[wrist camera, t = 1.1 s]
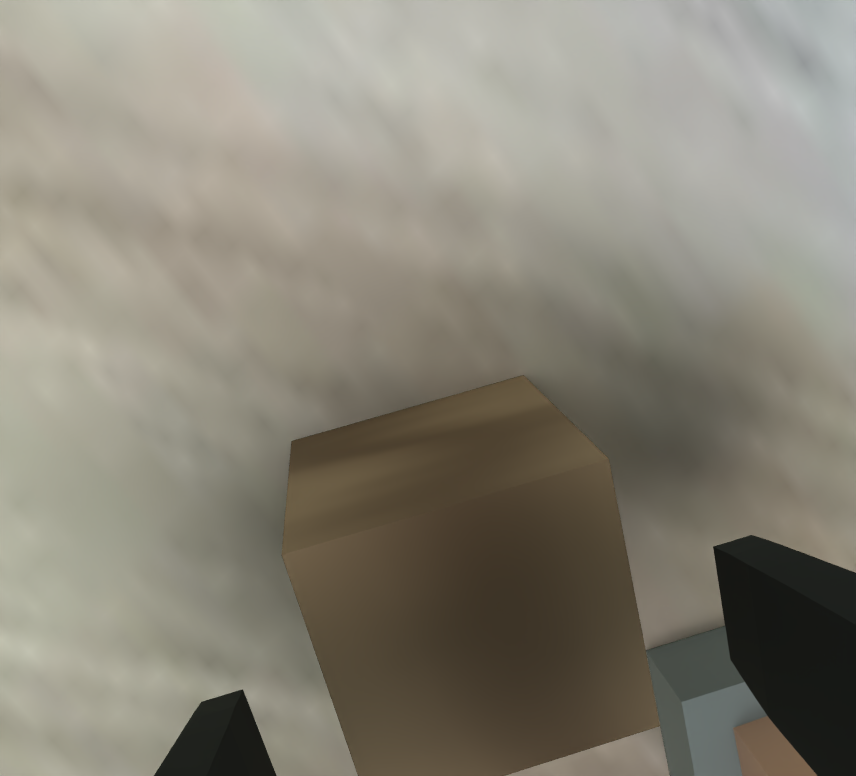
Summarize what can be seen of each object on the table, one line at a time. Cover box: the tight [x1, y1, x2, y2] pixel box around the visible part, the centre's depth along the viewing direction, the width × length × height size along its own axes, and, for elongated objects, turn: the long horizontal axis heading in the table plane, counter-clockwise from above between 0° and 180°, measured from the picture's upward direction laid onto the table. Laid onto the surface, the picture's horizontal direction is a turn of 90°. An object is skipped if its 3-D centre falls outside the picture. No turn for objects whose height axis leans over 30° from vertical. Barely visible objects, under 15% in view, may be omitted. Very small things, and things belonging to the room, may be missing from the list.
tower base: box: [646, 626, 767, 776], centre depth 19 cm, size 8×8×2 cm
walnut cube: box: [282, 375, 660, 776], centre depth 14 cm, size 5×5×5 cm
